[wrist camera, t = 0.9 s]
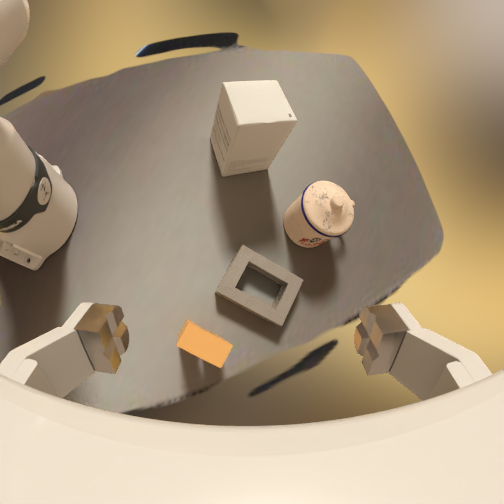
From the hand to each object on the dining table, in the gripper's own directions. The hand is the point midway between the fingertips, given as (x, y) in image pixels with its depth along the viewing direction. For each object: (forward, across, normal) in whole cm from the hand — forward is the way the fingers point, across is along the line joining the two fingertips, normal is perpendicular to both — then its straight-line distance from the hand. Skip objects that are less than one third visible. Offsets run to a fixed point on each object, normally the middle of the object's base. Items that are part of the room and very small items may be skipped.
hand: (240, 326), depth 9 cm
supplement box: (+45, +2, -3) cm, 45 cm away
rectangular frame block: (+31, -2, +17) cm, 36 cm away
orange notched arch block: (+25, +7, +22) cm, 34 cm away
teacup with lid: (+40, -12, +9) cm, 43 cm away
